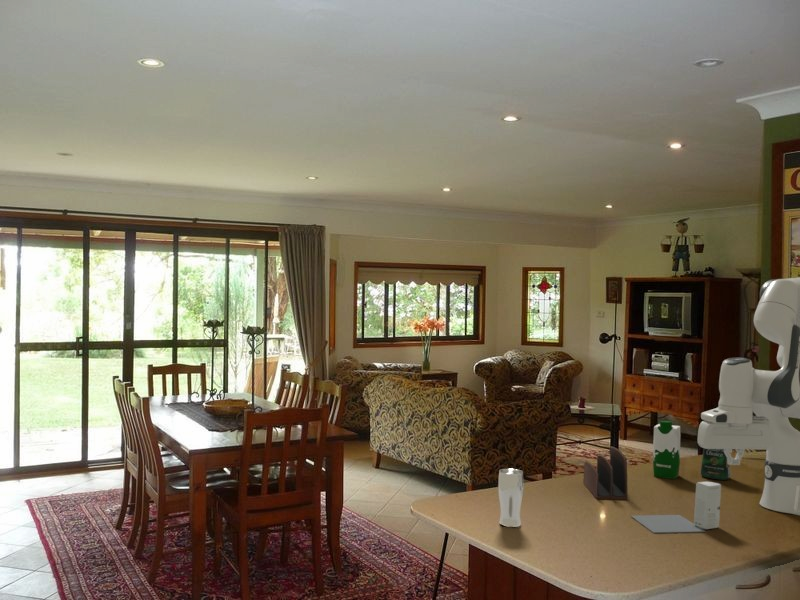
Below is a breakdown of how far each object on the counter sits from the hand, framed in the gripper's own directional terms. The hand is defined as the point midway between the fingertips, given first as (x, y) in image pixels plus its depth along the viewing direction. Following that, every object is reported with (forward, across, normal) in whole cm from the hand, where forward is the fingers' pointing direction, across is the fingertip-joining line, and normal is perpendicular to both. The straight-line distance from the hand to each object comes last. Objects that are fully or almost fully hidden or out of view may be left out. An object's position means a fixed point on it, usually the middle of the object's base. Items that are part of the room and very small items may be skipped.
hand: (733, 464), depth 208 cm
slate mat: (+18, +17, -3) cm, 25 cm away
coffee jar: (+16, -26, -54) cm, 62 cm away
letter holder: (+18, +22, -38) cm, 48 cm away
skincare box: (+18, +7, 0) cm, 19 cm away
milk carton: (+17, -9, -58) cm, 61 cm away
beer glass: (+19, +62, -5) cm, 65 cm away
